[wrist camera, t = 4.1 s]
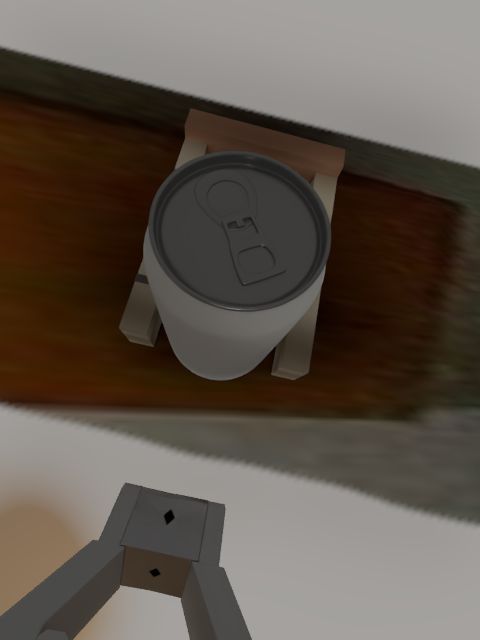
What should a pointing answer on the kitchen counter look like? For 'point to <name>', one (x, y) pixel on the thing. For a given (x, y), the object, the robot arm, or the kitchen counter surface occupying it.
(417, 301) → the kitchen counter surface
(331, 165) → the wooden rack
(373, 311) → the kitchen counter surface
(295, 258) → the can
